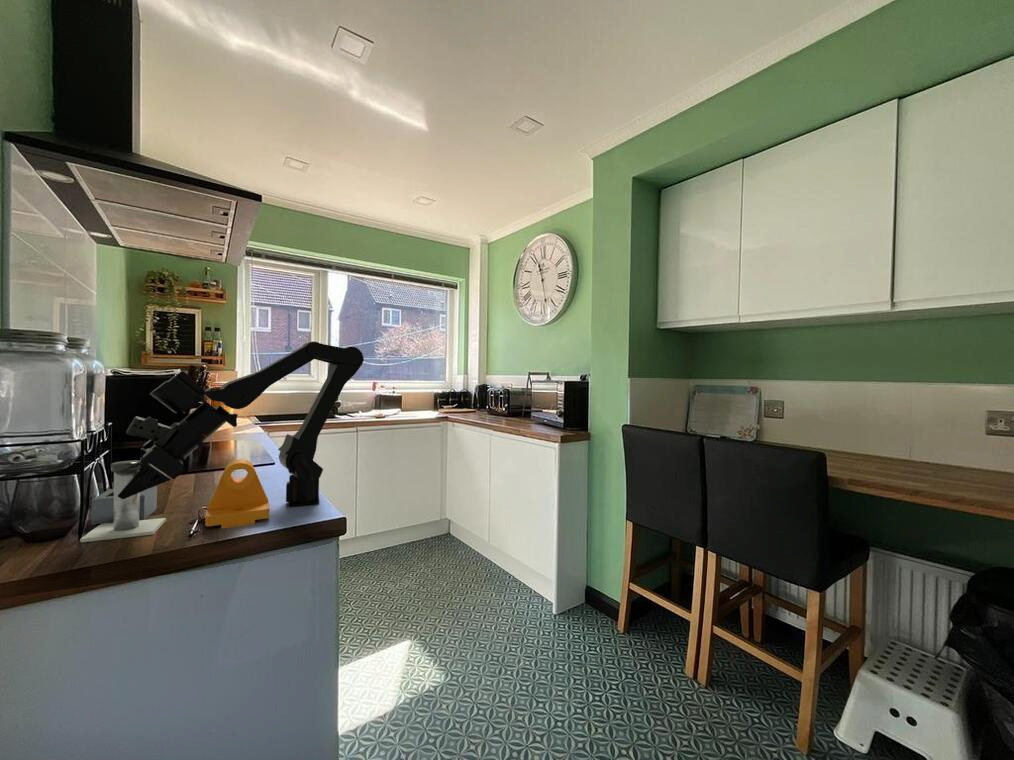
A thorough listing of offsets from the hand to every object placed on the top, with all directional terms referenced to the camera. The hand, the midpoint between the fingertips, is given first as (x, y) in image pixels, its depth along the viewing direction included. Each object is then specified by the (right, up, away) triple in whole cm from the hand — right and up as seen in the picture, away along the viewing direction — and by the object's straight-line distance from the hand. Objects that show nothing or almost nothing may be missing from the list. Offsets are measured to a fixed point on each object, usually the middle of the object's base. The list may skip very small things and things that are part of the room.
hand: (121, 492), depth 78 cm
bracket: (+17, -8, +7) cm, 20 cm away
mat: (0, -7, +1) cm, 7 cm away
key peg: (0, -7, +1) cm, 7 cm away
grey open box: (-7, -7, +8) cm, 13 cm away
